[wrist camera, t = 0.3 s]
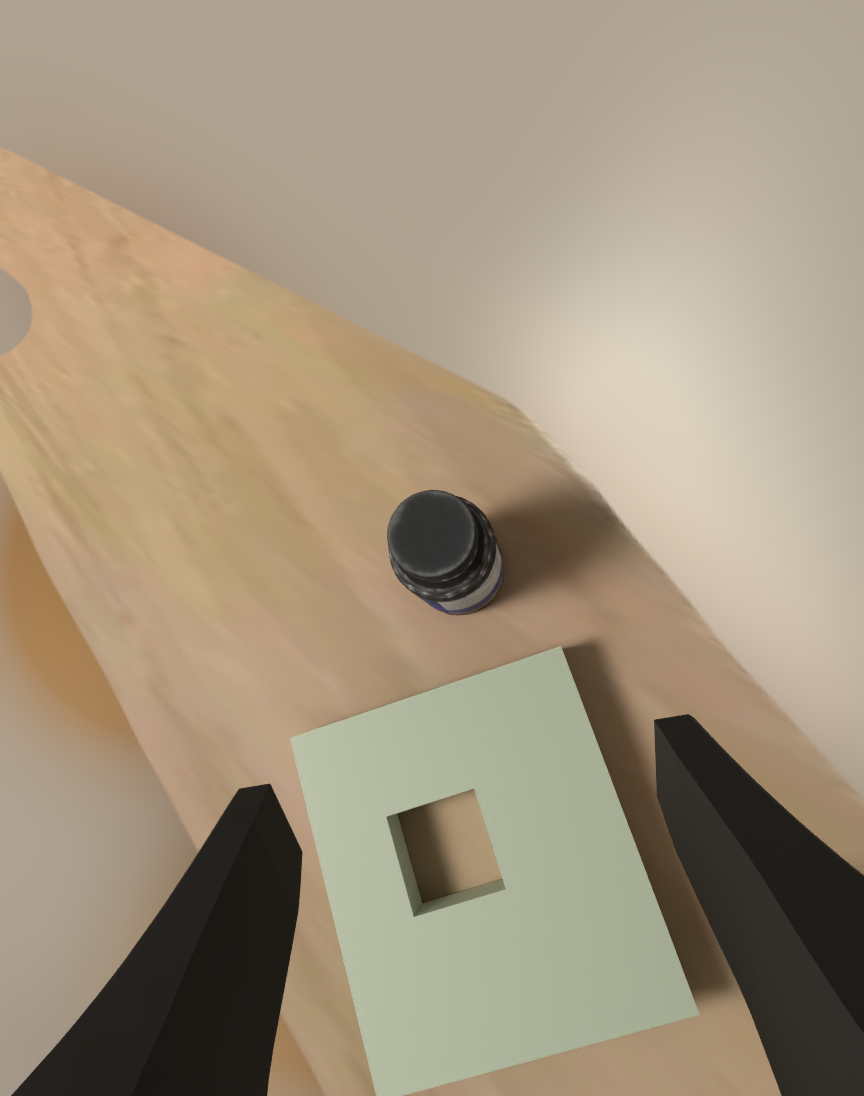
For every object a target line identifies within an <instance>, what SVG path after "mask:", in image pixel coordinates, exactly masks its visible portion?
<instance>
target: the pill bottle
mask: <svg viewBox="0 0 864 1096" xmlns="http://www.w3.org/2000/svg"><path fill="white" fill-rule="evenodd" d="M387 539H388V546H389V557H390V562H391V565H392V568H393V570H394V573H395V575H396V576H397V578H398V579H399V581H400V582H401V583H402V584H403V585H404V586H405V587H406V588H407V589H408V590H410V591H411V592H412V593H414V594H415V595H417V596H418V597H419V598H421V599H422V600H424V601H425V602H426V603H428V604H429V605H431V606H432V607H434V608H435V609H437V610H439V611H442V612H444V613H446V614H450V615H466V614H470V613H473V612H476V611H478V610H481V609H482V608H484V607H485V606H487V605H488V604H489V603H490V602H491V601H492V600H493V599H494V598H495V596H496V595H497V593H498V591H499V589H500V587H501V585H502V583H503V577H504V565H503V558H502V555H501V550H500V548H499V546H498V543H497V540H496V537H495V535H494V531H493V528H492V527H491V524H490V522H489V520H488V519H487V517H486V515H485V514H484V513H483V512H482V511H481V510H480V509H479V508H478V507H477V506H475V505H474V504H473V503H471V502H470V501H468V500H466V499H463V498H461V497H457V496H455V495H453V494H450V493H448V492H445V491H440V490H428V491H422V492H419V493H416V494H413V495H412V496H410V497H408V498H407V499H406V500H404V501H403V502H402V503H401V504H400V505H399V506H398V507H397V509H396V510H395V511H394V513H393V515H392V517H391V519H390V522H389V525H388V531H387Z"/></svg>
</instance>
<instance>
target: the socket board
mask: <svg viewBox="0 0 864 1096" xmlns="http://www.w3.org/2000/svg"><path fill="white" fill-rule="evenodd" d="M290 741H291V745H292V749H293V753H294V757H295V761H296V766H297V770H298V774H299V778H300V782H301V786H302V790H303V795H304V799H305V803H306V807H307V811H308V815H309V819H310V823H311V828H312V832H313V836H314V840H315V844H316V848H317V852H318V857H319V861H320V865H321V869H322V873H323V877H324V881H325V886H326V890H327V894H328V898H329V902H330V906H331V910H332V915H333V919H334V923H335V927H336V931H337V935H338V939H339V944H340V948H341V952H342V956H343V960H344V964H345V968H346V972H347V977H348V981H349V985H350V989H351V993H352V997H353V1001H354V1006H355V1010H356V1014H357V1018H358V1022H359V1026H360V1030H361V1035H362V1039H363V1043H364V1047H365V1051H366V1055H367V1059H368V1064H369V1068H370V1072H371V1076H372V1080H373V1084H374V1088H375V1093H376V1096H403V1095H407V1094H411V1093H414V1092H418V1091H422V1090H425V1089H429V1088H433V1087H436V1086H440V1085H444V1084H447V1083H451V1082H455V1081H458V1080H462V1079H466V1078H470V1077H473V1076H477V1075H481V1074H484V1073H488V1072H492V1071H495V1070H499V1069H503V1068H506V1067H510V1066H514V1065H517V1064H521V1063H525V1062H528V1061H532V1060H536V1059H539V1058H543V1057H547V1056H550V1055H554V1054H558V1053H561V1052H565V1051H569V1050H573V1049H576V1048H580V1047H584V1046H587V1045H591V1044H595V1043H598V1042H602V1041H606V1040H609V1039H613V1038H617V1037H620V1036H624V1035H628V1034H631V1033H635V1032H639V1031H642V1030H646V1029H650V1028H653V1027H657V1026H661V1025H665V1024H668V1023H672V1022H676V1021H679V1020H683V1019H687V1018H690V1017H694V1016H698V1015H700V1014H699V1012H698V1009H697V1006H696V1004H695V1001H694V998H693V996H692V993H691V990H690V988H689V985H688V982H687V980H686V977H685V974H684V972H683V969H682V966H681V964H680V961H679V958H678V956H677V953H676V950H675V948H674V945H673V942H672V940H671V937H670V934H669V932H668V929H667V926H666V924H665V921H664V918H663V916H662V913H661V911H660V908H659V905H658V903H657V900H656V897H655V895H654V892H653V889H652V887H651V884H650V881H649V879H648V876H647V873H646V871H645V868H644V865H643V863H642V860H641V857H640V855H639V852H638V849H637V847H636V844H635V841H634V839H633V836H632V833H631V831H630V828H629V825H628V823H627V820H626V818H625V815H624V812H623V810H622V807H621V804H620V802H619V799H618V796H617V794H616V791H615V788H614V786H613V783H612V780H611V778H610V775H609V772H608V770H607V767H606V764H605V762H604V759H603V756H602V754H601V751H600V748H599V746H598V743H597V740H596V738H595V735H594V732H593V730H592V727H591V724H590V722H589V719H588V717H587V714H586V711H585V709H584V706H583V703H582V701H581V698H580V695H579V693H578V690H577V687H576V685H575V682H574V679H573V677H572V674H571V671H570V669H569V666H568V663H567V661H566V658H565V655H564V653H563V650H562V647H561V646H559V647H556V648H553V649H550V650H547V651H545V652H542V653H539V654H536V655H533V656H530V657H527V658H524V659H521V660H518V661H515V662H512V663H509V664H506V665H503V666H500V667H497V668H495V669H492V670H489V671H486V672H483V673H480V674H477V675H474V676H471V677H468V678H465V679H462V680H459V681H456V682H453V683H450V684H447V685H445V686H442V687H439V688H436V689H433V690H430V691H427V692H424V693H421V694H418V695H415V696H412V697H409V698H406V699H403V700H400V701H397V702H395V703H392V704H389V705H386V706H383V707H380V708H377V709H374V710H371V711H368V712H365V713H362V714H359V715H356V716H353V717H350V718H347V719H344V720H342V721H339V722H336V723H333V724H330V725H327V726H324V727H321V728H318V729H315V730H312V731H309V732H306V733H303V734H300V735H297V736H294V737H292V738H290ZM471 789H474V790H475V793H476V796H477V799H478V802H479V806H480V809H481V812H482V815H483V818H484V821H485V825H486V828H487V831H488V834H489V837H490V840H491V844H492V847H493V850H494V853H495V856H496V859H497V863H498V866H499V869H500V872H501V875H502V878H503V879H501V880H497V881H494V882H491V883H488V884H484V885H481V886H478V887H474V888H471V889H468V890H465V891H461V892H458V893H455V894H451V895H448V896H445V897H441V898H438V899H435V900H432V901H428V902H425V903H422V900H421V896H420V893H419V889H418V886H417V882H416V879H415V875H414V871H413V868H412V864H411V861H410V857H409V853H408V850H407V846H406V843H405V839H404V836H403V832H402V828H401V825H400V821H399V818H398V814H397V813H399V812H403V811H406V810H409V809H412V808H415V807H418V806H421V805H424V804H427V803H431V802H434V801H437V800H440V799H443V798H446V797H449V796H452V795H456V794H459V793H462V792H465V791H468V790H471Z"/></svg>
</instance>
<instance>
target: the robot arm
mask: <svg viewBox="0 0 864 1096" xmlns="http://www.w3.org/2000/svg"><path fill="white" fill-rule="evenodd" d="M654 728H655V755H656V783H657V798H658V800H659V803H660V806H661V809H662V812H663V815H664V818H665V821H666V824H667V827H668V830H669V832H670V835H671V838H672V841H673V844H674V847H675V849H676V852H677V854H678V857H679V859H680V861H681V863H682V865H683V868H684V870H685V872H686V874H687V876H688V878H689V880H690V883H691V885H692V887H693V889H694V891H695V893H696V895H697V898H698V900H699V902H700V904H701V906H702V908H703V910H704V913H705V915H706V917H707V919H708V921H709V923H710V925H711V927H712V930H713V932H714V934H715V936H716V938H717V940H718V942H719V944H720V947H721V949H722V951H723V953H724V955H725V957H726V959H727V961H728V964H729V966H730V968H731V970H732V972H733V974H734V976H735V978H736V981H737V983H738V985H739V987H740V989H741V992H742V994H743V996H744V999H745V1001H746V1003H747V1006H748V1008H749V1010H750V1013H751V1015H752V1018H753V1020H754V1023H755V1026H756V1028H757V1031H758V1034H759V1036H760V1039H761V1042H762V1044H763V1047H764V1050H765V1052H766V1055H767V1058H768V1060H769V1063H770V1066H771V1068H772V1071H773V1073H774V1076H775V1079H776V1081H777V1084H778V1087H779V1090H780V1092H781V1095H782V1096H864V875H862V874H861V873H860V872H859V871H857V870H856V869H855V868H854V867H853V866H851V865H850V864H849V863H848V862H846V861H845V860H844V859H843V858H841V857H840V856H839V855H838V854H837V853H836V852H834V851H833V850H832V849H831V848H830V847H828V846H827V845H826V844H825V843H824V842H822V841H821V840H820V839H819V838H818V837H817V836H815V835H814V834H813V833H812V832H811V831H810V830H808V829H807V828H806V827H805V826H804V825H803V824H802V823H801V822H799V821H798V820H797V819H796V818H795V817H794V816H793V815H792V814H790V813H789V812H788V811H787V810H786V809H785V808H784V807H783V806H782V805H781V804H780V803H779V802H777V801H776V800H775V799H774V798H773V797H772V796H771V795H770V794H769V793H768V792H767V791H766V790H764V789H763V788H762V787H761V786H760V785H759V784H758V783H757V782H756V781H755V780H754V779H753V778H752V777H751V776H750V775H749V774H748V773H747V772H746V771H745V770H744V769H743V768H742V767H741V766H740V765H739V764H738V763H737V762H736V761H735V760H734V759H733V758H732V757H731V756H730V755H729V754H728V753H727V752H726V751H725V750H724V749H723V748H722V747H721V746H720V745H719V744H718V743H717V742H716V741H715V740H714V739H713V738H712V737H711V736H710V735H709V733H708V732H707V731H706V730H705V729H704V728H703V727H702V726H701V725H700V724H699V723H698V722H697V720H696V719H695V718H693V717H692V716H690V715H689V714H687V715H681V716H675V717H669V718H662V719H656V720H654ZM301 867H302V850H301V848H300V846H299V844H298V842H297V839H296V837H295V835H294V833H293V831H292V829H291V827H290V825H289V823H288V820H287V818H286V816H285V814H284V812H283V810H282V808H281V806H280V803H279V801H278V799H277V797H276V795H275V793H274V791H273V789H272V786H271V784H265V785H259V786H253V787H247V788H241V789H239V790H238V791H237V793H236V794H235V796H234V797H233V799H232V800H231V802H230V803H229V805H228V806H227V808H226V810H225V811H224V813H223V814H222V816H221V818H220V819H219V821H218V822H217V824H216V826H215V827H214V829H213V830H212V832H211V833H210V835H209V837H208V838H207V840H206V841H205V843H204V845H203V846H202V848H201V849H200V851H199V852H198V854H197V856H196V857H195V859H194V860H193V862H192V863H191V865H190V867H189V868H188V869H187V871H186V873H185V874H184V875H183V877H182V878H181V880H180V882H179V883H178V884H177V886H176V888H175V889H174V891H173V892H172V894H171V895H170V897H169V898H168V900H167V901H166V903H165V904H164V906H163V907H162V908H161V910H160V911H159V913H158V914H157V916H156V917H155V919H154V920H153V921H152V923H151V924H150V925H149V927H148V928H147V930H146V931H145V932H144V934H143V935H142V937H141V938H140V939H139V941H138V942H137V944H136V945H135V946H134V948H133V949H132V951H131V952H130V953H129V955H128V956H127V958H126V959H125V960H124V962H123V963H122V964H121V966H120V967H119V968H118V970H117V971H116V973H115V974H114V975H113V976H112V977H111V979H110V980H109V981H108V983H107V984H106V985H105V987H104V988H103V989H102V990H101V992H100V993H99V994H98V996H97V997H96V998H95V999H94V1000H93V1002H92V1003H91V1004H90V1005H89V1007H88V1008H87V1009H86V1010H85V1012H84V1013H83V1014H82V1015H81V1016H80V1018H79V1019H78V1020H77V1021H76V1023H75V1024H74V1025H73V1026H72V1027H71V1029H70V1030H69V1031H68V1032H67V1033H66V1035H65V1036H64V1037H63V1038H62V1039H61V1040H60V1042H59V1043H58V1044H57V1045H56V1046H55V1047H54V1048H53V1050H52V1051H51V1052H50V1053H49V1054H48V1055H47V1056H46V1058H45V1059H44V1060H43V1061H42V1062H41V1063H40V1064H39V1065H38V1066H37V1067H36V1069H35V1070H34V1071H33V1072H32V1073H31V1074H30V1075H29V1077H28V1078H27V1079H26V1080H25V1081H24V1082H23V1083H22V1084H21V1085H20V1086H19V1088H18V1089H17V1090H16V1091H15V1092H14V1093H13V1094H12V1095H11V1096H267V1091H268V1081H269V1073H270V1067H271V1061H272V1054H273V1047H274V1042H275V1036H276V1031H277V1026H278V1020H279V1015H280V1009H281V1004H282V999H283V993H284V988H285V982H286V977H287V972H288V966H289V961H290V955H291V950H292V944H293V938H294V933H295V927H296V921H297V916H298V909H299V897H300V885H301Z"/></svg>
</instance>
